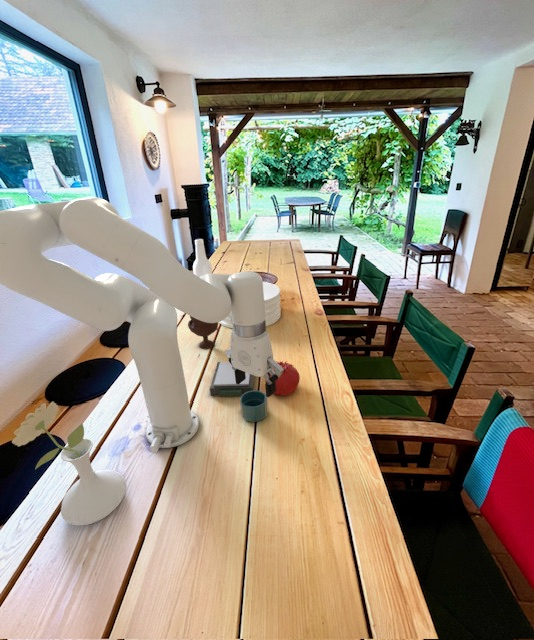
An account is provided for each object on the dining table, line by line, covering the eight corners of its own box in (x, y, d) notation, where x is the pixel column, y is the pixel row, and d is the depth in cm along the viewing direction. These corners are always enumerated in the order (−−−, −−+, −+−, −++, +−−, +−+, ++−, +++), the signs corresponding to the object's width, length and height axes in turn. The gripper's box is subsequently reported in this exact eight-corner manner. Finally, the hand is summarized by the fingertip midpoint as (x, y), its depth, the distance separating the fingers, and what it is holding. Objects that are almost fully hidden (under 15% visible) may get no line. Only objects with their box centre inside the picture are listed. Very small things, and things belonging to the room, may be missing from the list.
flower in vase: (111, 467, 70) (78, 370, 60) (139, 496, 63) (108, 393, 53) (44, 513, 61) (-8, 408, 51) (69, 553, 54) (15, 441, 44)
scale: (252, 396, 90) (251, 387, 89) (210, 397, 91) (208, 388, 89) (255, 367, 104) (254, 359, 103) (218, 368, 104) (217, 360, 103)
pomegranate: (305, 384, 95) (305, 357, 91) (289, 403, 87) (289, 374, 83) (275, 375, 100) (275, 349, 96) (258, 393, 92) (257, 365, 88)
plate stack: (206, 326, 133) (203, 301, 128) (229, 302, 158) (227, 279, 153) (272, 332, 127) (271, 305, 122) (285, 305, 151) (285, 282, 147)
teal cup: (267, 423, 81) (266, 407, 79) (240, 423, 81) (238, 407, 79) (267, 405, 87) (267, 390, 85) (242, 405, 87) (241, 390, 85)
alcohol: (212, 303, 157) (204, 241, 145) (195, 302, 159) (186, 241, 146) (217, 297, 165) (211, 237, 153) (201, 296, 167) (193, 238, 154)
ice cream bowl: (215, 353, 113) (210, 314, 107) (186, 351, 115) (180, 312, 109) (225, 339, 123) (221, 302, 116) (197, 337, 125) (192, 301, 119)
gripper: (211, 324, 76) (220, 384, 83) (270, 342, 66) (274, 408, 73) (232, 313, 81) (239, 370, 88) (290, 328, 71) (292, 391, 78)
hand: (255, 387), depth 81 cm, fingers open, 9 cm apart
